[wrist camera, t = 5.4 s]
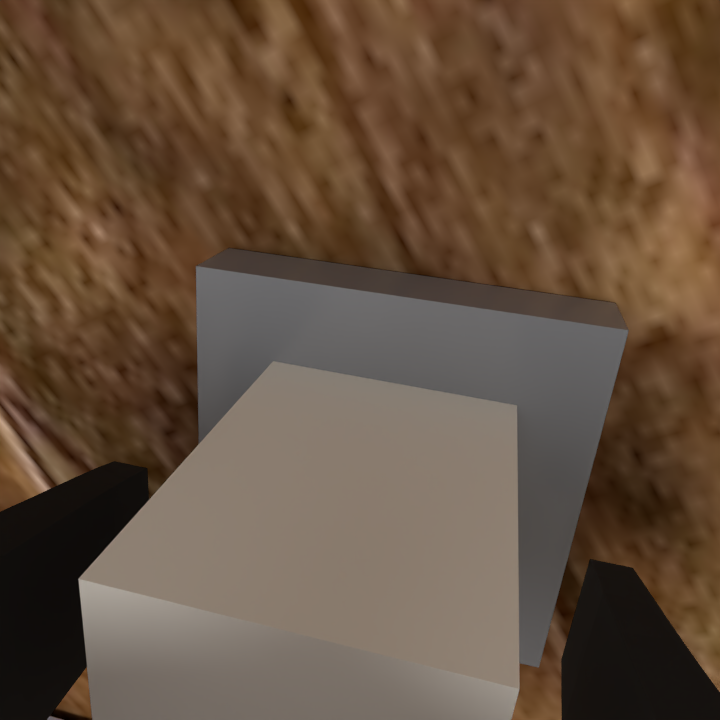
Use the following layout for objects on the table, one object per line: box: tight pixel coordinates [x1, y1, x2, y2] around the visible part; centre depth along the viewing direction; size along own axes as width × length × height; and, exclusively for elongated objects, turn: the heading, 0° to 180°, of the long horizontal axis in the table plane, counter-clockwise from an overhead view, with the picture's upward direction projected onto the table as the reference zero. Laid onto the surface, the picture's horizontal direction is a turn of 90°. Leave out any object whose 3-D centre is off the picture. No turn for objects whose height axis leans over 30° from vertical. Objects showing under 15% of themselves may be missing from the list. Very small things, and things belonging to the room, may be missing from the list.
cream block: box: [78, 361, 520, 720], centre depth 10 cm, size 4×4×6 cm
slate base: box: [196, 248, 629, 668], centre depth 13 cm, size 8×8×2 cm
